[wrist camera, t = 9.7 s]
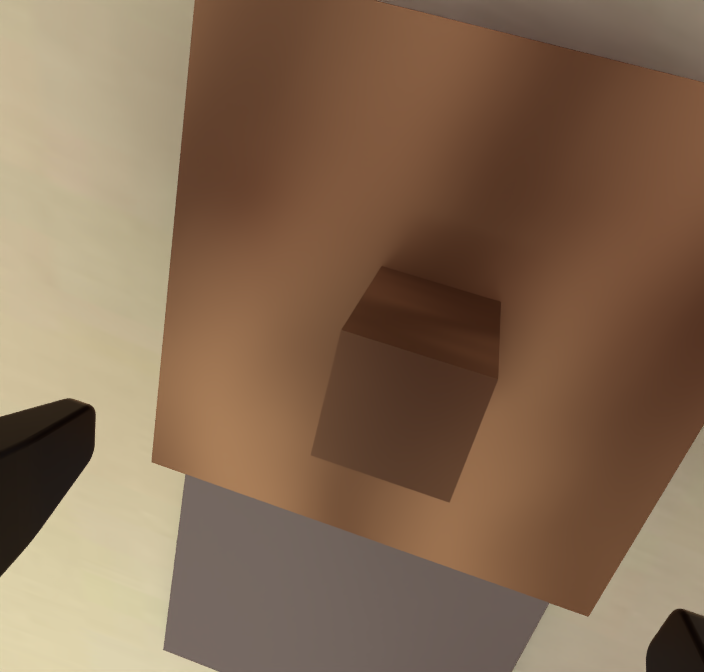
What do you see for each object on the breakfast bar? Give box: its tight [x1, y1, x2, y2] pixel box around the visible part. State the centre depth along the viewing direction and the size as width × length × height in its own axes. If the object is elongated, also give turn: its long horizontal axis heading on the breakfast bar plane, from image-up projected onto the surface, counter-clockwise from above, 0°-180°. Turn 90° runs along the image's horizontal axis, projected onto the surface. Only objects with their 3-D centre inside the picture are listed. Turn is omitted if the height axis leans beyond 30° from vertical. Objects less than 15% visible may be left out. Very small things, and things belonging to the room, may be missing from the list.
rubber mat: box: [163, 474, 549, 672], centre depth 27 cm, size 16×16×1 cm
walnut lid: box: [152, 0, 704, 616], centre depth 14 cm, size 14×14×5 cm
